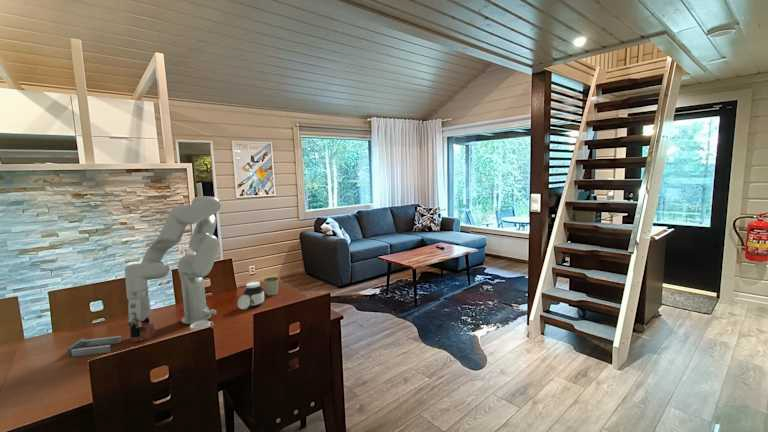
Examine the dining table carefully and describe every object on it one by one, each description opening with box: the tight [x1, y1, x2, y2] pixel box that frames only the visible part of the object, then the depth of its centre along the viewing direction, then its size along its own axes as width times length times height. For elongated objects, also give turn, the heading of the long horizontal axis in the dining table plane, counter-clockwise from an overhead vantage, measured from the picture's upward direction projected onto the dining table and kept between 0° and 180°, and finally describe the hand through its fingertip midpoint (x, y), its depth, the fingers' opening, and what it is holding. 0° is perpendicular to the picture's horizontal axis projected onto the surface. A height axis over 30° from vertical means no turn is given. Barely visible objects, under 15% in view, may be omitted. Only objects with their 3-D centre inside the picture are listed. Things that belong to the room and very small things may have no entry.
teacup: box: [189, 320, 214, 332], centre depth 155 cm, size 10×8×5 cm
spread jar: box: [237, 281, 265, 310], centre depth 187 cm, size 12×11×12 cm
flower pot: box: [262, 276, 281, 297], centre depth 206 cm, size 9×9×9 cm
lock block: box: [131, 321, 156, 342], centre depth 154 cm, size 7×5×6 cm
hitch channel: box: [67, 335, 122, 358], centre depth 145 cm, size 14×9×4 cm
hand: (140, 332), depth 153 cm, fingers open, 9 cm apart
